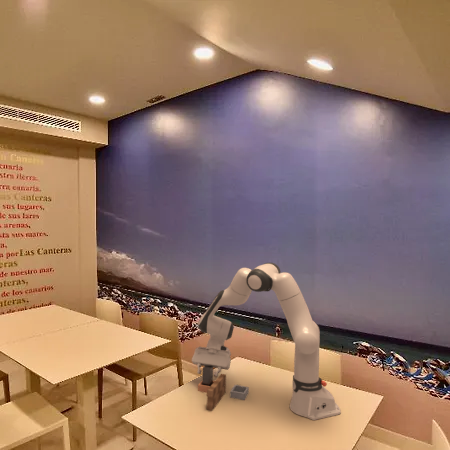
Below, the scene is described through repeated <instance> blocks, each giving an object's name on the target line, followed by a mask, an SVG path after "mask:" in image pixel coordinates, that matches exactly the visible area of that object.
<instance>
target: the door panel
mask: <svg viewBox="0 0 450 450" xmlns="http://www.w3.org/2000/svg"><path fill="white" fill-rule="evenodd" d="M226 378H227V373H226V374H225V373H221V374H220V375H219V376H217V377H216V379H215V380H214V381H215V382H214V383H213V384H212V385H211V386H210V388H209V389H208V390H207V393H206V410H207V411H210V412H212V411H213V410H214V409H215V408H216V407H217V405H218V404H219V402H220V401H221V399H222V398H223V397H224V395H225V394H226V391H227V390H226V389H227V388H226V387H227V386H226V385H227V384H226V383H227V381H226V380H227V379H226Z"/></svg>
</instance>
